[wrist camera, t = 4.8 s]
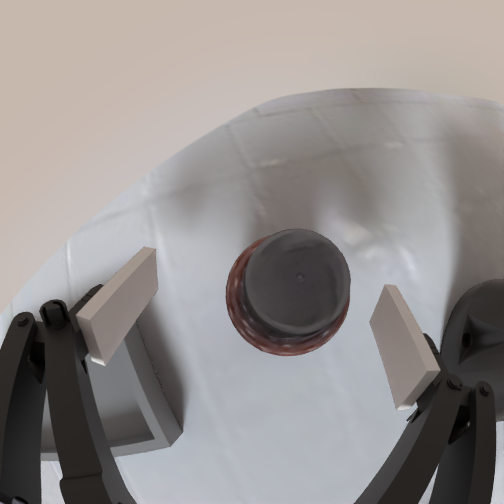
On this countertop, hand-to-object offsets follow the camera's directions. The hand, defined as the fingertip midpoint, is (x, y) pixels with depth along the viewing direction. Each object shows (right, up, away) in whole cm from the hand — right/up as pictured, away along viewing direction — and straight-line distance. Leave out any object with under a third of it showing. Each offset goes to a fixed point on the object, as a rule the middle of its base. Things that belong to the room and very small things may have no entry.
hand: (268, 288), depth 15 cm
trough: (-17, -11, +3) cm, 21 cm away
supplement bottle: (+1, -3, +6) cm, 6 cm away
